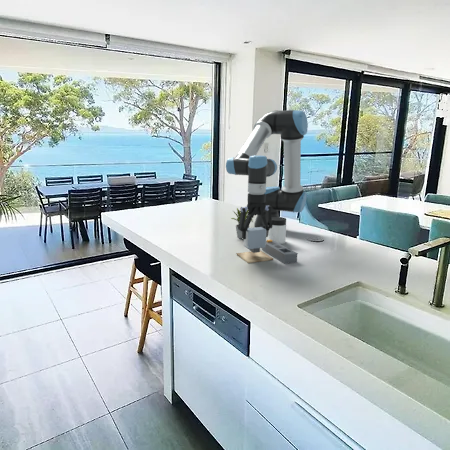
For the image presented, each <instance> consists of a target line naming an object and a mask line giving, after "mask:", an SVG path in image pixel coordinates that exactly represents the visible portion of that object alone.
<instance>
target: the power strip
mask: <svg viewBox="0 0 450 450" xmlns="http://www.w3.org/2000/svg"><path fill="white" fill-rule="evenodd" d="M261 251H262V252H264V253H265V254H267V255H268V256H270V257H272V258H273V259H276V260H277V261H279V262H280V263H283V265H284V264H285V265H287V264H292V263H293V264H294V263H295V264H296V263H298V253H297V251H294V250H292V249H290V248H289V247H286V246H285V245H283V244H279V243H278V242H276V241H272V240H269V239H266V245H265V247H263V248H261Z"/></svg>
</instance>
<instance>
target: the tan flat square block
mask: <svg viewBox="0 0 450 450" xmlns="http://www.w3.org/2000/svg"><path fill="white" fill-rule="evenodd" d="M236 254H237V255H236ZM235 255H236V256H237V257H239V258H240V257H241V259H242V260H243V261H244V262H245V263H247V264H250V263H251V264H253V263H259V262H267V261H274V257H273V256H271V255H269V254H268V253H266V252H265V251H263V250H260V252H257V253H253V252H251V251H245V252H236V253H235Z"/></svg>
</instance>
